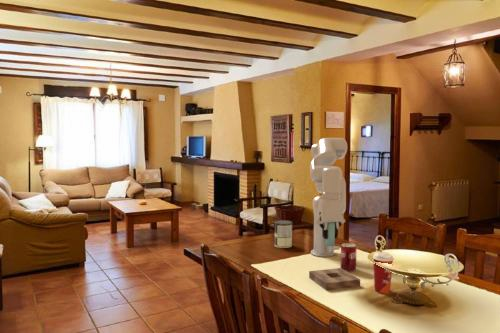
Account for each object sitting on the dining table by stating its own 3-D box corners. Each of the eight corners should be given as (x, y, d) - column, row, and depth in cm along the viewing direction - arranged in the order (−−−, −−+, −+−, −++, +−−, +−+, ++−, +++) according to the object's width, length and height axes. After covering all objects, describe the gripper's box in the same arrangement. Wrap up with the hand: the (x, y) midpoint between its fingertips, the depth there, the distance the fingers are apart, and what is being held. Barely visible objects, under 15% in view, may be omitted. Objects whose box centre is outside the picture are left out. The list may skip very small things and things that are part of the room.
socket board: (340, 274, 188) (340, 268, 188) (360, 286, 173) (360, 279, 173) (309, 277, 183) (309, 271, 183) (326, 290, 168) (326, 283, 168)
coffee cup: (390, 295, 162) (391, 258, 161) (369, 291, 167) (370, 255, 166) (395, 289, 169) (396, 253, 168) (375, 285, 174) (375, 250, 173)
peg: (331, 243, 180) (332, 221, 180) (336, 246, 176) (336, 223, 176) (323, 244, 179) (324, 221, 179) (327, 246, 175) (328, 223, 175)
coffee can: (270, 245, 239) (270, 221, 238) (282, 242, 246) (282, 219, 245) (283, 249, 231) (283, 224, 230) (295, 245, 238) (295, 222, 237)
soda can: (357, 268, 197) (357, 244, 196) (354, 273, 190) (355, 247, 189) (342, 266, 200) (342, 242, 199) (338, 270, 193) (339, 245, 192)
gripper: (343, 194, 182) (342, 235, 184) (309, 195, 178) (308, 237, 179) (352, 196, 175) (351, 238, 176) (317, 198, 170) (316, 241, 172)
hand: (330, 237), depth 178 cm, fingers closed on peg, 4 cm apart
